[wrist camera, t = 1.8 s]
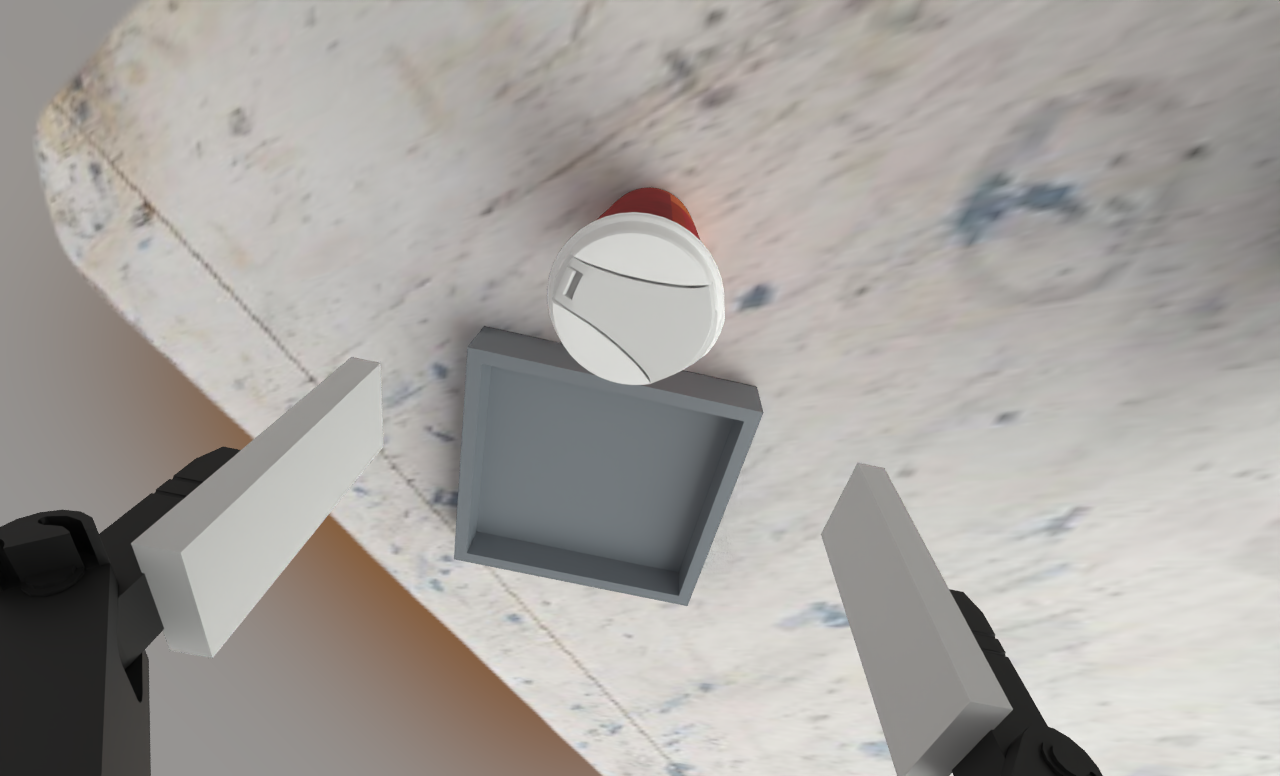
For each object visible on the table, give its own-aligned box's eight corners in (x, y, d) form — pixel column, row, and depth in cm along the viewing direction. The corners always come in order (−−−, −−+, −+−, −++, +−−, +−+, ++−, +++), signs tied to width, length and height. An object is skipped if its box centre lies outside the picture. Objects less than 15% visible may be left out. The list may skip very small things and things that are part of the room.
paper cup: (570, 258, 36) (514, 349, 24) (620, 144, 32) (585, 182, 20) (675, 310, 37) (673, 422, 25) (735, 207, 34) (766, 278, 21)
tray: (756, 387, 40) (763, 412, 37) (686, 573, 49) (687, 606, 46) (484, 326, 39) (467, 347, 36) (468, 529, 48) (454, 559, 45)
